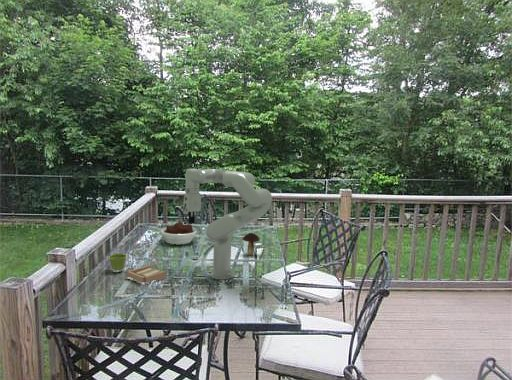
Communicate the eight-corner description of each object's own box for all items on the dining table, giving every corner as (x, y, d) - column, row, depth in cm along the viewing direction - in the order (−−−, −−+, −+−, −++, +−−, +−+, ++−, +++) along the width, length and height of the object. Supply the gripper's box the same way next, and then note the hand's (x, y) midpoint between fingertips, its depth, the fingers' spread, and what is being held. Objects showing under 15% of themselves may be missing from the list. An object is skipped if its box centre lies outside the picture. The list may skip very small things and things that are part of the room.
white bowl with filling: (158, 239, 296) (159, 218, 294) (193, 238, 304) (193, 218, 302) (161, 248, 272) (162, 226, 270) (199, 247, 280) (199, 225, 278)
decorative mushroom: (258, 258, 261) (259, 235, 259) (241, 257, 261) (242, 234, 259) (258, 253, 272) (259, 231, 270) (242, 252, 272) (243, 230, 270)
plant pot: (121, 275, 220) (121, 259, 219) (105, 273, 222) (105, 257, 221) (129, 269, 229) (129, 254, 228) (114, 268, 231) (114, 253, 230)
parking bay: (165, 278, 218) (165, 271, 217) (144, 285, 207) (144, 278, 206) (148, 272, 226) (148, 265, 226) (126, 278, 215) (126, 271, 214)
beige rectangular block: (161, 276, 220) (162, 270, 220) (146, 282, 211) (147, 276, 210) (151, 273, 224) (151, 267, 223) (135, 279, 215) (135, 272, 214)
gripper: (187, 192, 220) (186, 226, 222) (206, 190, 232) (205, 222, 234) (177, 191, 224) (177, 223, 227) (197, 189, 236) (196, 220, 239)
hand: (191, 223), depth 231 cm, fingers closed
